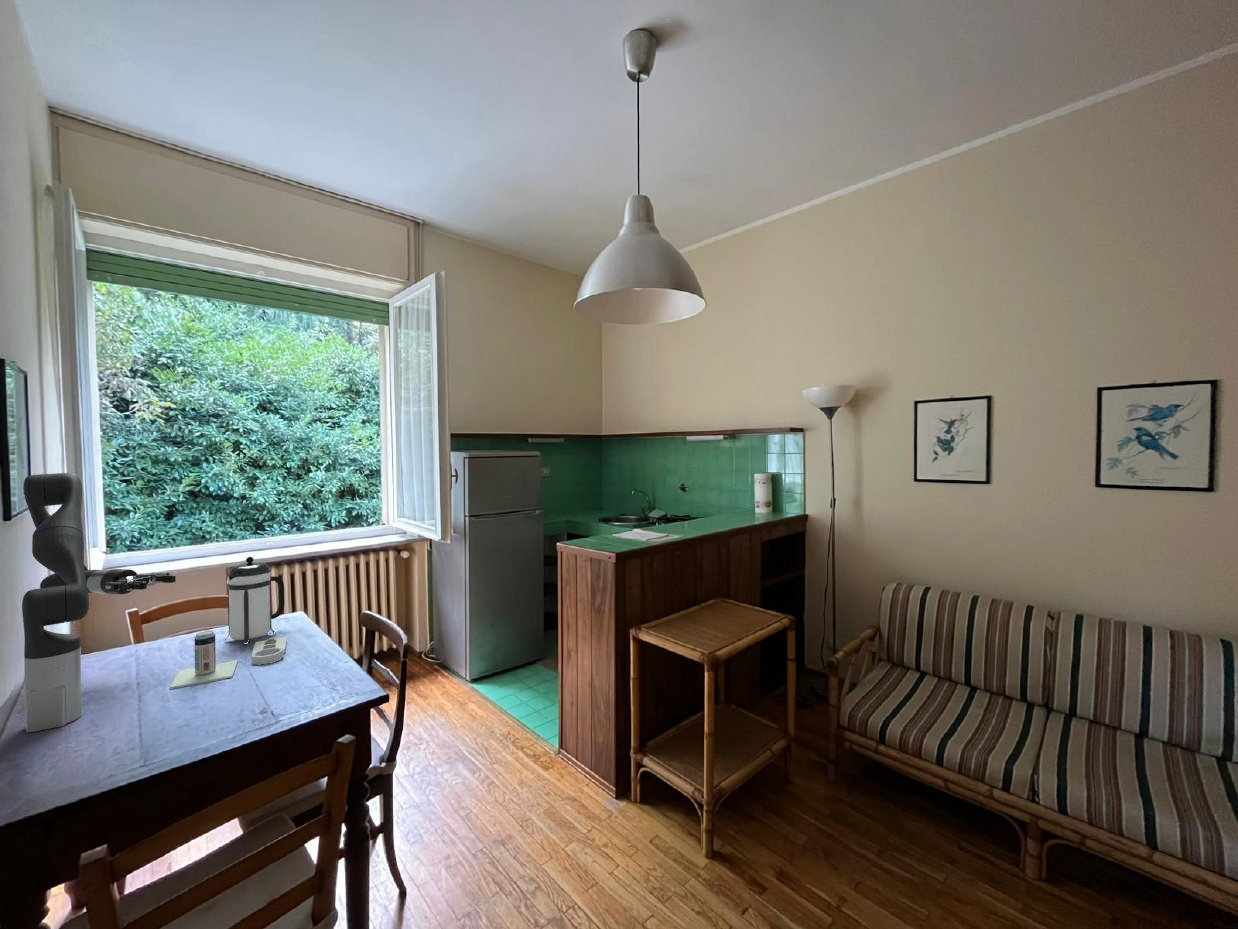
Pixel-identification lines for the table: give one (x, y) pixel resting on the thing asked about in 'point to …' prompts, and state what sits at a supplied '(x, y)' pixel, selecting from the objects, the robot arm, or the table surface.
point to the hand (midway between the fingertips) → (160, 582)
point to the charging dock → (268, 650)
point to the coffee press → (252, 600)
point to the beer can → (205, 653)
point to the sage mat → (190, 678)
